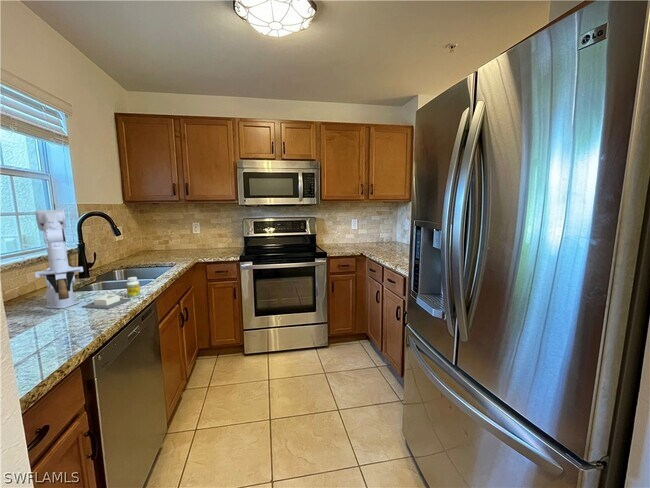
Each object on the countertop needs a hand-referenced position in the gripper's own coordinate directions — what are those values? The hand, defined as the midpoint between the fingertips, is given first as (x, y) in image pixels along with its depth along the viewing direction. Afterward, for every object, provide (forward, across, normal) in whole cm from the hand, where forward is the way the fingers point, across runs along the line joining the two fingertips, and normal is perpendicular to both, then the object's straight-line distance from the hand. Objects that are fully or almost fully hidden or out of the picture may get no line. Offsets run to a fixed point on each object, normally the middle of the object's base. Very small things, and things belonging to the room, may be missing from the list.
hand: (63, 291), depth 122 cm
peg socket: (+10, +14, +7) cm, 19 cm away
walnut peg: (+3, 0, 0) cm, 3 cm away
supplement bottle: (+11, +25, +11) cm, 29 cm away
